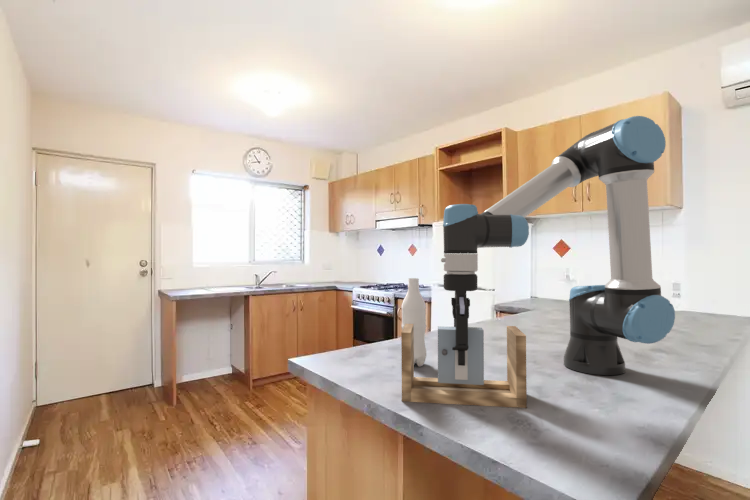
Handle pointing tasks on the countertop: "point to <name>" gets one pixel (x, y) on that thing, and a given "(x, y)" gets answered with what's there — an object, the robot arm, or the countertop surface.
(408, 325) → the door frame
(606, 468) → the countertop surface
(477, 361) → the door panel
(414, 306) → the water bottle
